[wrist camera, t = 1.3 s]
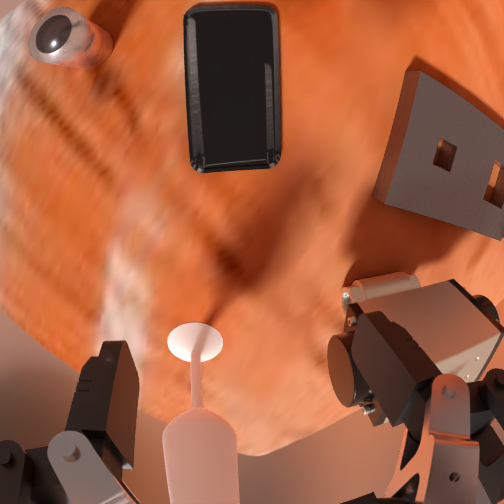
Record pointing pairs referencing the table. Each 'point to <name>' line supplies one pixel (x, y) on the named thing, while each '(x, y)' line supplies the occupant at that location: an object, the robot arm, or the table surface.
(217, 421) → the champagne flute
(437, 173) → the grey board with holes
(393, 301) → the security camera
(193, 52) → the phone
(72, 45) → the flashlight
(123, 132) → the table surface
